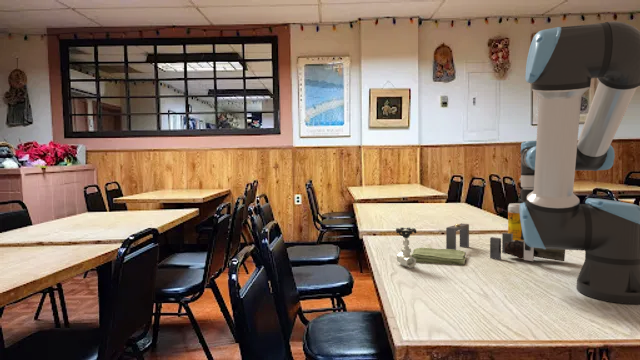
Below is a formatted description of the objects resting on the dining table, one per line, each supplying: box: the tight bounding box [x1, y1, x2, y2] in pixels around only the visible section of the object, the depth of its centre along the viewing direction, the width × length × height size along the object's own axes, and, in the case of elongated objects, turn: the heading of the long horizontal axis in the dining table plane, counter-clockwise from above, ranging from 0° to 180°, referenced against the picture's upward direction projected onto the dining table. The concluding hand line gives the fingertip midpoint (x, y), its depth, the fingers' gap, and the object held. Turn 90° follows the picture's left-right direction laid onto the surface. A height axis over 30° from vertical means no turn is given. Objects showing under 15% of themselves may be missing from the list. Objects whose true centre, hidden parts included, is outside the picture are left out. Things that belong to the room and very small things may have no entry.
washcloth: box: [410, 247, 467, 266], centre depth 137 cm, size 13×18×3 cm
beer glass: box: [507, 202, 524, 242], centre depth 163 cm, size 6×6×15 cm
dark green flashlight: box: [504, 240, 566, 262], centre depth 132 cm, size 18×7×6 cm, turn 59°
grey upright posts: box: [445, 223, 513, 261], centre depth 145 cm, size 12×19×9 cm, turn 45°
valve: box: [395, 227, 417, 269], centre depth 129 cm, size 7×7×12 cm
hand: (533, 257), depth 132 cm, fingers closed on dark green flashlight, 8 cm apart
